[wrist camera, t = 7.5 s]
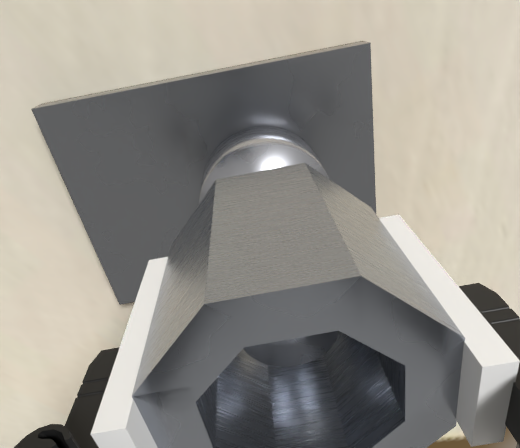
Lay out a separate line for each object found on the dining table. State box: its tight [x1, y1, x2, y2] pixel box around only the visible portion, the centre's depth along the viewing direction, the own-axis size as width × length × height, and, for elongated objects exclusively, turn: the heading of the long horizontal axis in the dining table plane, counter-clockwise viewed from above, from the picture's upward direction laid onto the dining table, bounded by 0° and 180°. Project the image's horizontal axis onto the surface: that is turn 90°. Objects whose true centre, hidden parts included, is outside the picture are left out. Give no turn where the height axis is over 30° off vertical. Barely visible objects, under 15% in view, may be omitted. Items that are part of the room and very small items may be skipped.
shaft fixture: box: [32, 41, 376, 367], centre depth 17 cm, size 12×16×12 cm
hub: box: [132, 163, 465, 448], centre depth 12 cm, size 7×7×6 cm
